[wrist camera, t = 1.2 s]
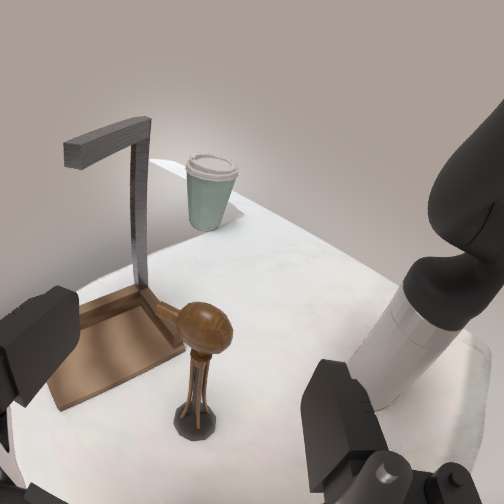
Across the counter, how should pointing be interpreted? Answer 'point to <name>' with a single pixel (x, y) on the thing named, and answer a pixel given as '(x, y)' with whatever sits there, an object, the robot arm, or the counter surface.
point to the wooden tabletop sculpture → (198, 361)
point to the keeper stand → (125, 300)
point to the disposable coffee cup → (209, 189)
